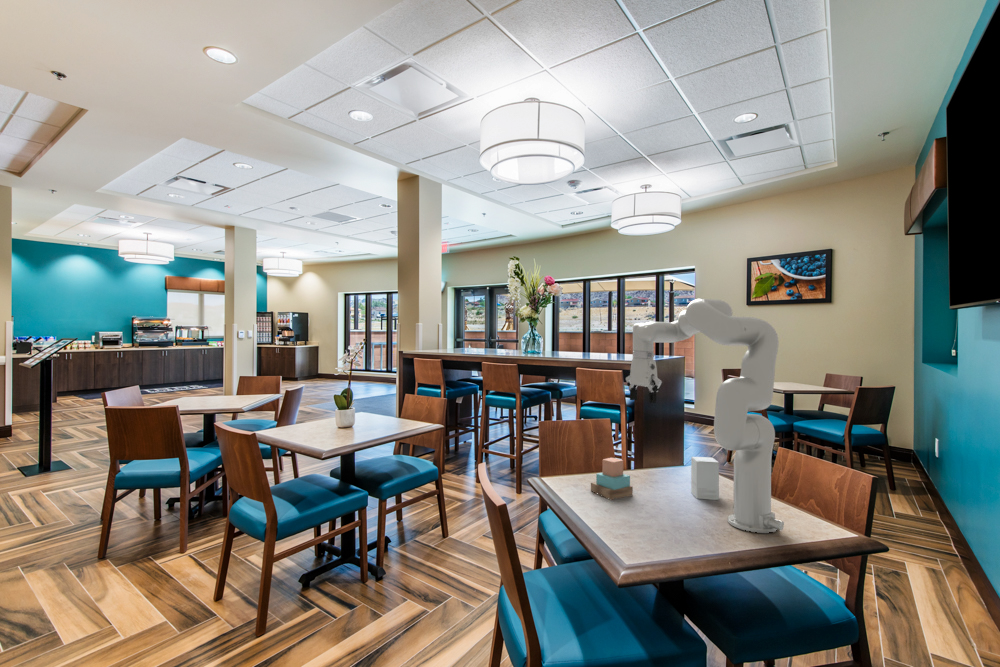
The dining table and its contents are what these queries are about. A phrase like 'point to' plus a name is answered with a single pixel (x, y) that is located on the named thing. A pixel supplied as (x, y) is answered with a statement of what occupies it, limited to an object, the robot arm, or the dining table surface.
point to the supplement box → (705, 478)
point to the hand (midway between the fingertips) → (642, 401)
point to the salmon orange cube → (612, 467)
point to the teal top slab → (613, 481)
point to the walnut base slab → (611, 491)
